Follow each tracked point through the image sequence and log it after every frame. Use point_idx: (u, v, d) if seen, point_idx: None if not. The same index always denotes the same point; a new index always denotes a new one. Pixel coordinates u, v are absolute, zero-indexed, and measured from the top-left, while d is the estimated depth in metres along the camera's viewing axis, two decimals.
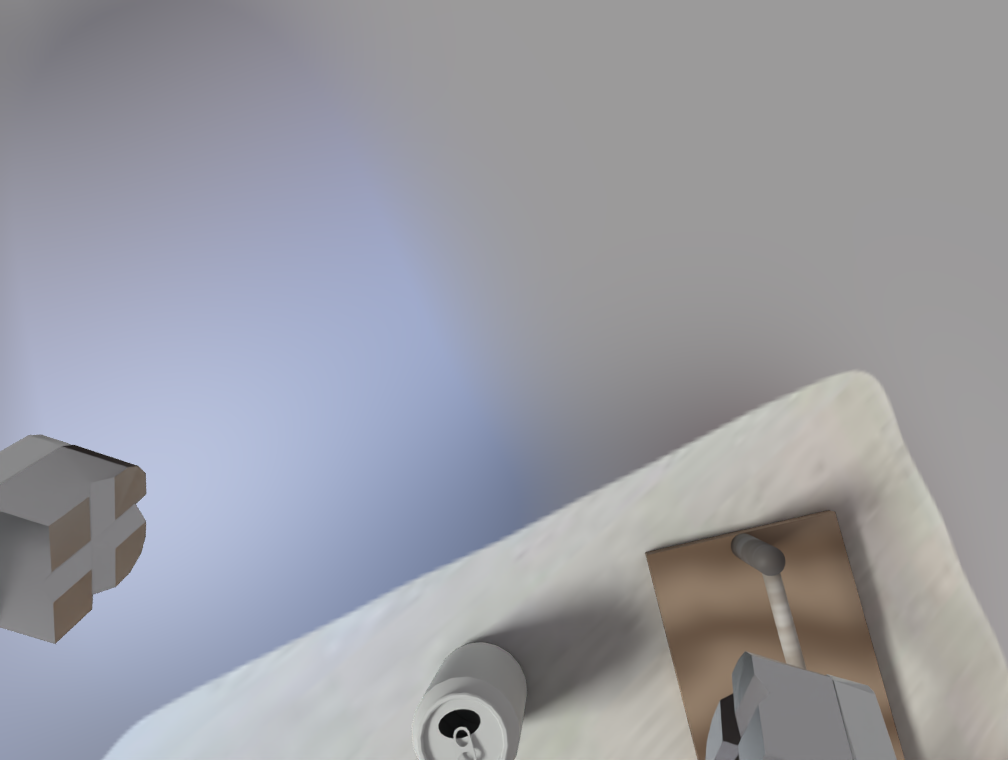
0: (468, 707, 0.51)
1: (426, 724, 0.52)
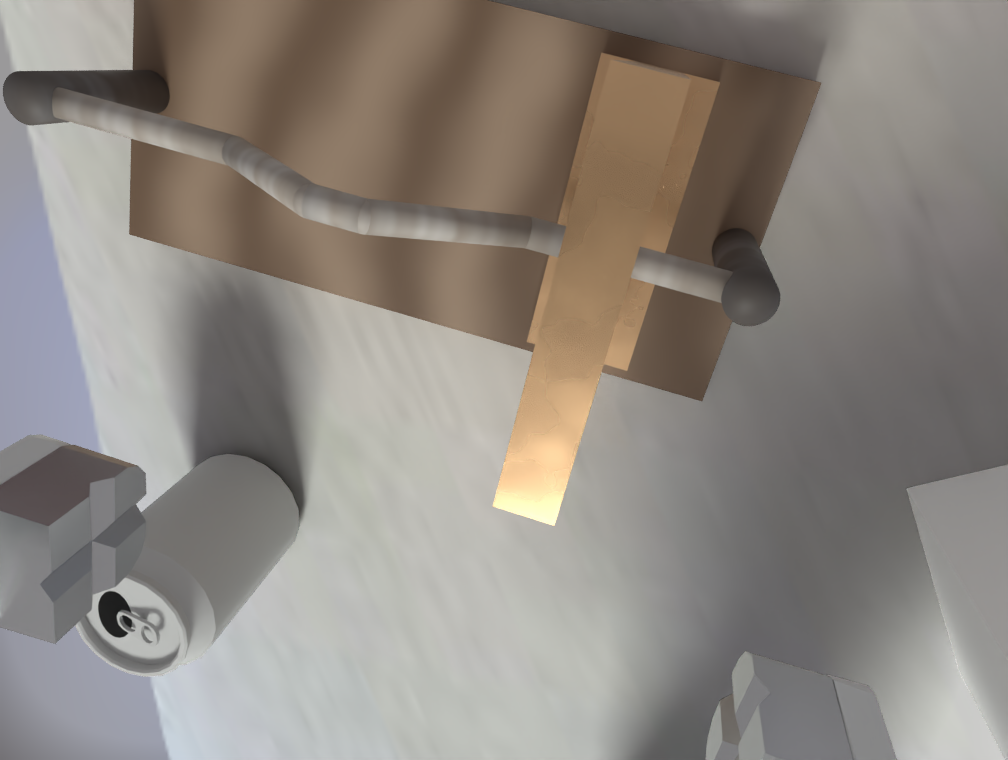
0: (98, 595, 0.37)
1: (106, 645, 0.39)
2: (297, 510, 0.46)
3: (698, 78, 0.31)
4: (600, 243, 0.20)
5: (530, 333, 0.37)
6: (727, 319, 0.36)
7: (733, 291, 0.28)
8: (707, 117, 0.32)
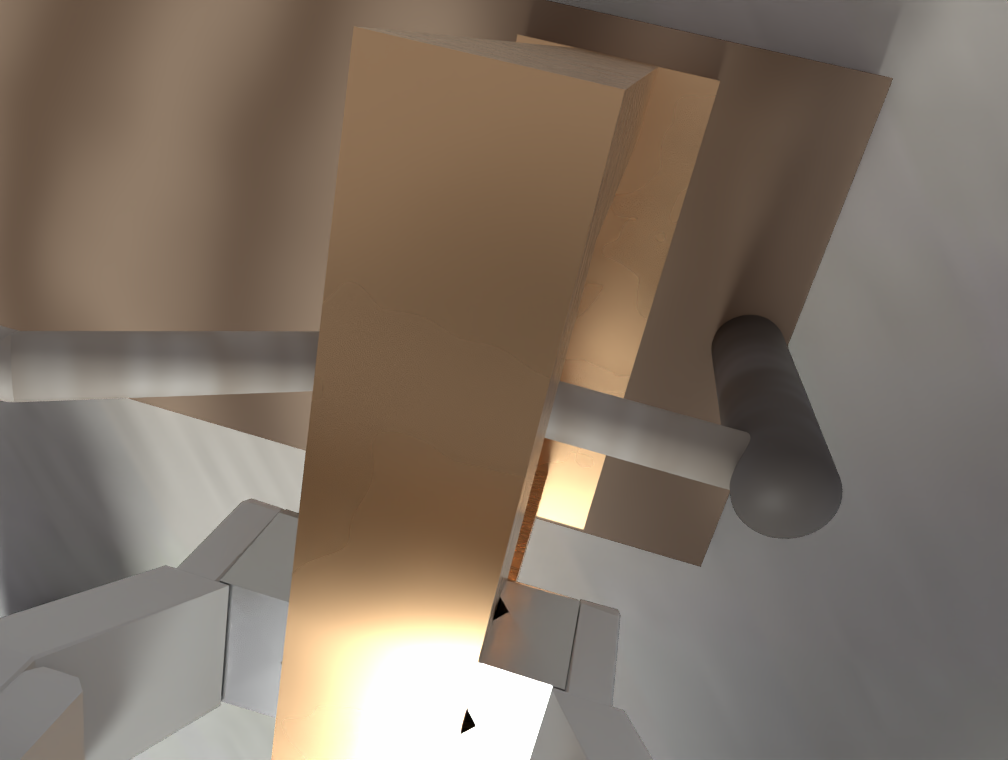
0: None
1: None
2: None
3: (682, 75, 0.18)
4: (396, 549, 0.07)
5: None
6: None
7: (752, 478, 0.15)
8: (699, 140, 0.19)
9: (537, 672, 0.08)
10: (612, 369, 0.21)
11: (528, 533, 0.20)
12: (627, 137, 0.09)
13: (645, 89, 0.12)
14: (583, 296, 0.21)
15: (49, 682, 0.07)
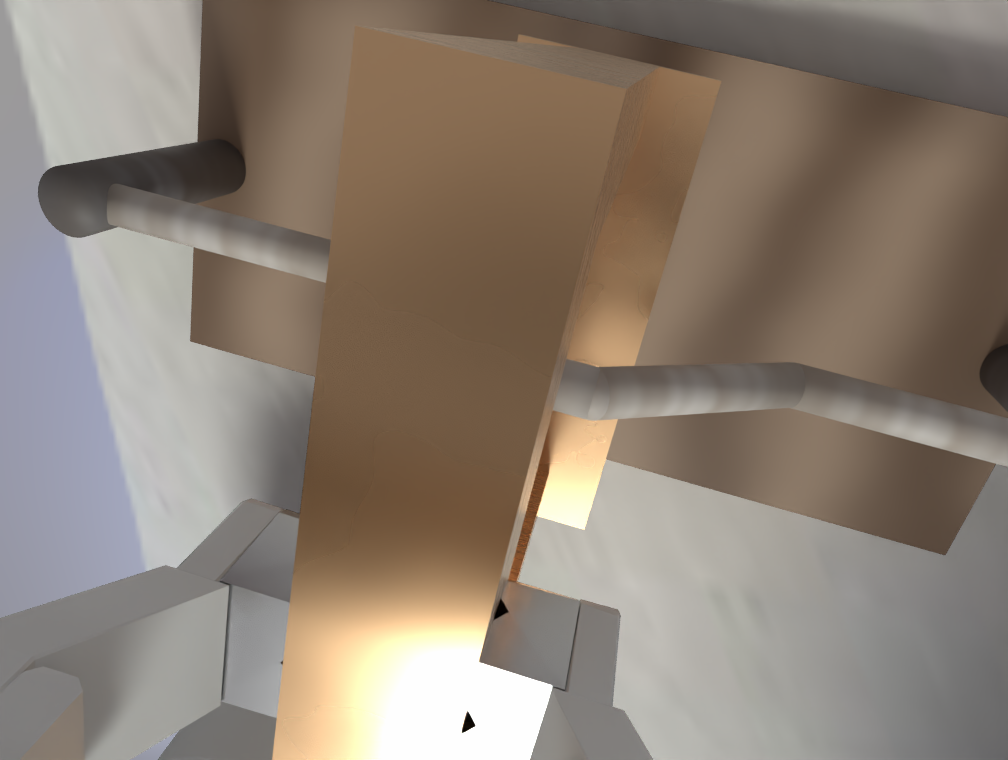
0: None
1: None
2: None
3: (684, 75, 0.18)
4: (399, 547, 0.07)
5: None
6: None
7: None
8: (700, 140, 0.19)
9: (537, 672, 0.08)
10: None
11: (529, 533, 0.20)
12: (628, 137, 0.09)
13: (646, 89, 0.12)
14: (584, 296, 0.21)
15: (50, 681, 0.07)
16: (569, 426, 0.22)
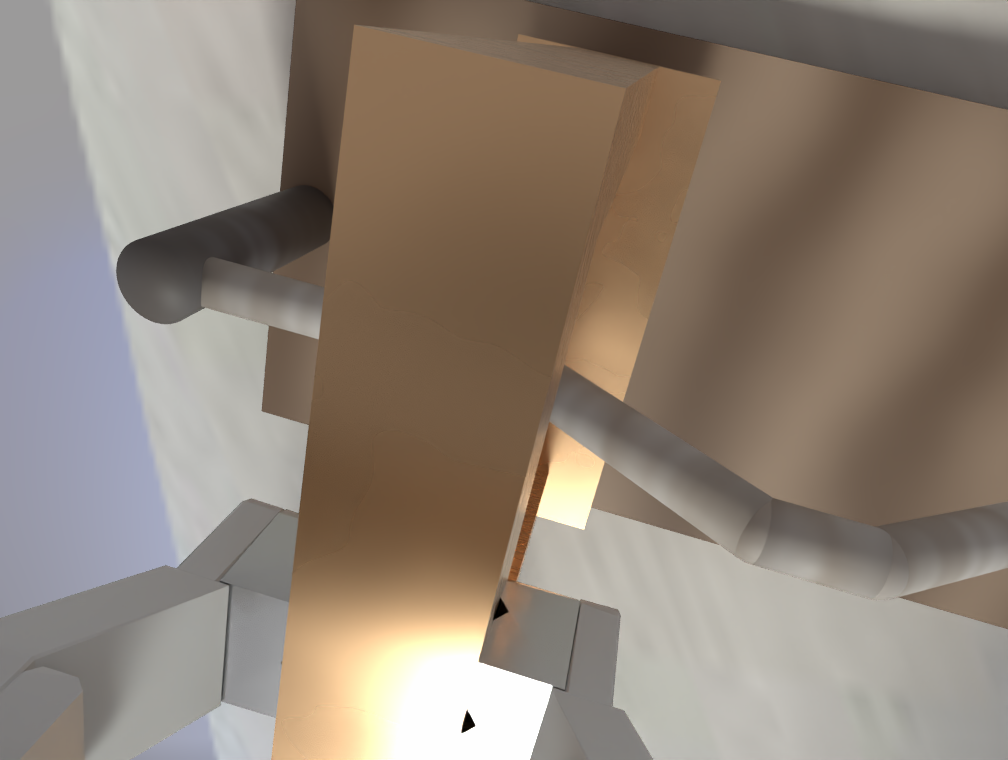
0: None
1: None
2: None
3: (683, 74, 0.18)
4: (397, 548, 0.07)
5: None
6: None
7: None
8: (700, 140, 0.19)
9: (537, 672, 0.08)
10: (613, 369, 0.21)
11: (529, 533, 0.20)
12: (628, 136, 0.09)
13: (646, 88, 0.12)
14: (584, 296, 0.21)
15: (48, 681, 0.07)
16: None
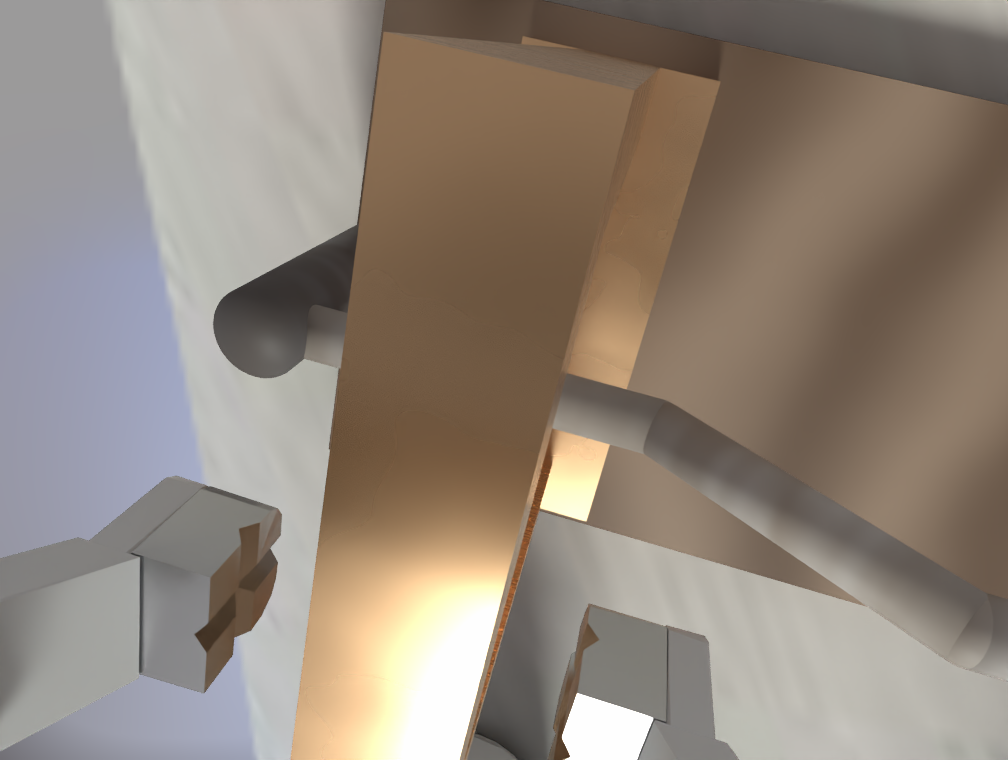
0: None
1: None
2: None
3: (684, 75, 0.19)
4: (418, 521, 0.08)
5: None
6: None
7: None
8: (700, 139, 0.19)
9: (636, 703, 0.08)
10: (615, 364, 0.22)
11: (533, 524, 0.21)
12: (633, 135, 0.10)
13: (649, 89, 0.12)
14: None
15: None
16: None
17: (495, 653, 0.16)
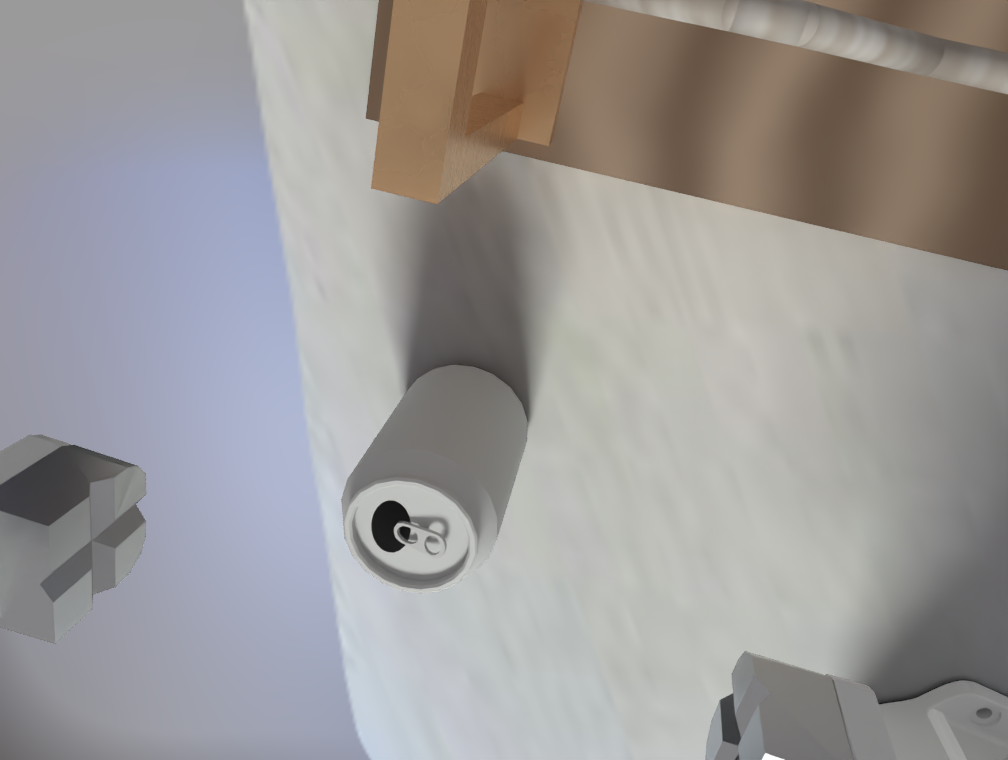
0: (374, 506, 0.34)
1: (376, 562, 0.36)
2: (527, 423, 0.43)
3: None
4: None
5: None
6: None
7: None
8: None
9: None
10: (564, 15, 0.33)
11: (510, 109, 0.31)
12: None
13: None
14: None
15: None
16: (536, 63, 0.34)
17: (487, 123, 0.27)
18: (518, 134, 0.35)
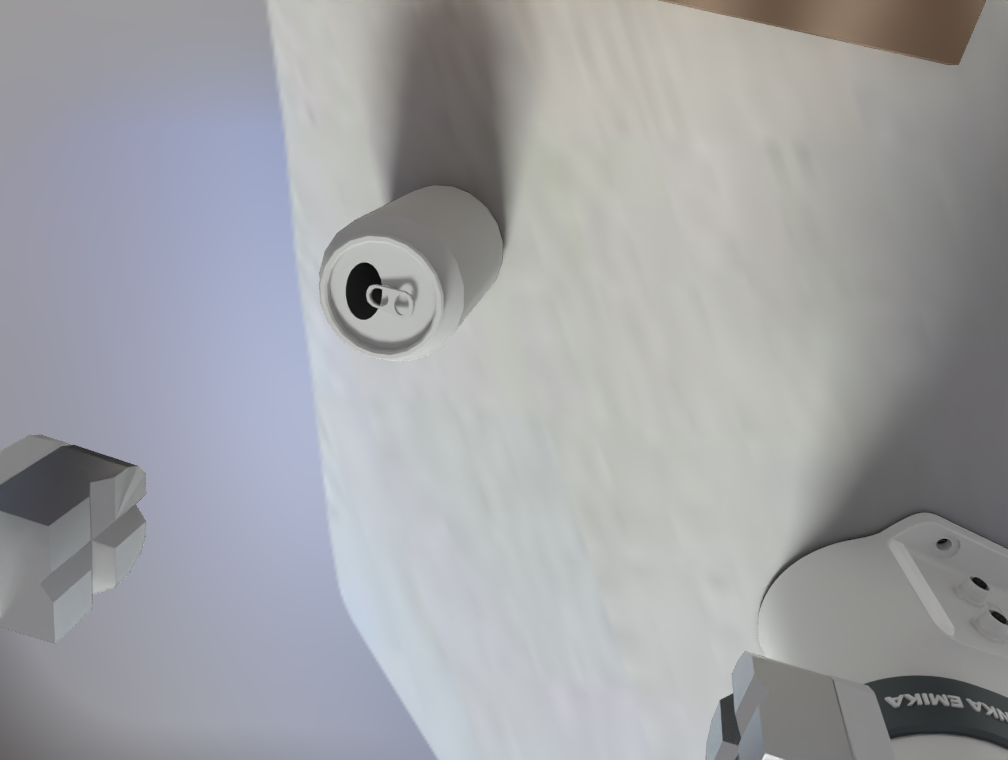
0: (348, 270, 0.37)
1: (350, 331, 0.38)
2: (502, 243, 0.45)
3: None
4: None
5: None
6: None
7: None
8: None
9: None
10: None
11: None
12: None
13: None
14: None
15: None
16: None
17: None
18: None
